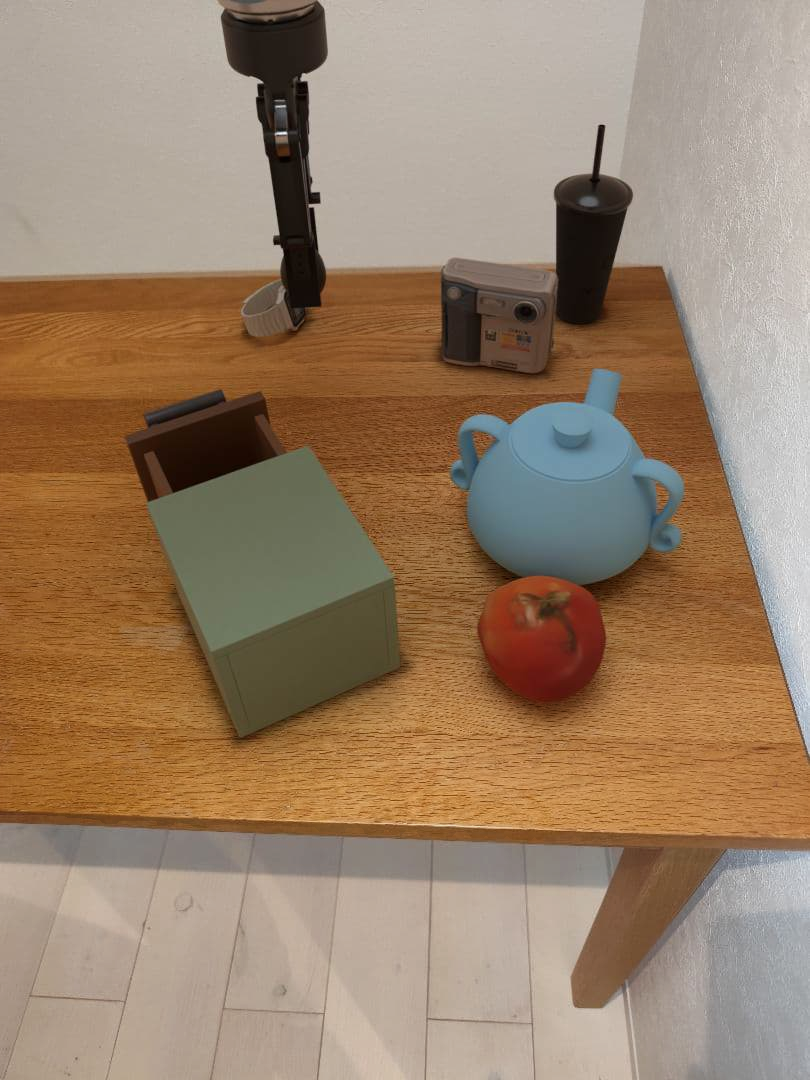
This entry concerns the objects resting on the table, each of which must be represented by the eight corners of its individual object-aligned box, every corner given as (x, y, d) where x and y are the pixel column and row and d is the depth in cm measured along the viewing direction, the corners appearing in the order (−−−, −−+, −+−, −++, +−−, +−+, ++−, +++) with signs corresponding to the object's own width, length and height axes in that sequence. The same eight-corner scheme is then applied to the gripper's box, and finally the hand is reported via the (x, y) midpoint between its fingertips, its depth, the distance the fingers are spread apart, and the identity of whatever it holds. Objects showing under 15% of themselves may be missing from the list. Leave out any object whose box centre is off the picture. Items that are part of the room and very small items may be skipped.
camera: (434, 363, 92) (433, 276, 84) (451, 331, 95) (451, 246, 88) (542, 383, 89) (551, 296, 82) (556, 350, 93) (565, 264, 85)
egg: (277, 302, 81) (269, 252, 77) (291, 278, 83) (284, 229, 80) (320, 308, 80) (314, 257, 76) (333, 283, 83) (328, 233, 79)
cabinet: (178, 595, 73) (145, 502, 64) (322, 539, 76) (308, 444, 68) (240, 738, 64) (210, 652, 56) (400, 667, 67) (394, 576, 59)
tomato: (482, 609, 71) (485, 542, 65) (600, 622, 69) (614, 555, 63) (469, 711, 64) (471, 647, 58) (598, 726, 63) (614, 663, 57)
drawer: (135, 477, 81) (108, 400, 74) (256, 435, 84) (240, 358, 77) (200, 623, 69) (174, 548, 63) (336, 569, 73) (325, 492, 66)
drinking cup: (529, 318, 97) (545, 132, 82) (563, 284, 101) (583, 102, 86) (593, 340, 94) (621, 151, 79) (625, 305, 98) (657, 119, 83)
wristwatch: (285, 350, 94) (278, 309, 90) (231, 340, 96) (222, 300, 92) (317, 302, 100) (312, 262, 96) (266, 294, 101) (259, 254, 98)
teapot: (413, 560, 74) (408, 447, 65) (501, 416, 86) (508, 303, 77) (647, 640, 68) (680, 528, 59) (707, 473, 80) (742, 358, 70)
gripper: (324, 45, 58) (349, 343, 76) (323, -35, 70) (345, 239, 87) (209, 51, 58) (261, 348, 76) (227, -30, 70) (268, 244, 87)
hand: (306, 289), depth 81 cm, fingers closed on egg, 4 cm apart
